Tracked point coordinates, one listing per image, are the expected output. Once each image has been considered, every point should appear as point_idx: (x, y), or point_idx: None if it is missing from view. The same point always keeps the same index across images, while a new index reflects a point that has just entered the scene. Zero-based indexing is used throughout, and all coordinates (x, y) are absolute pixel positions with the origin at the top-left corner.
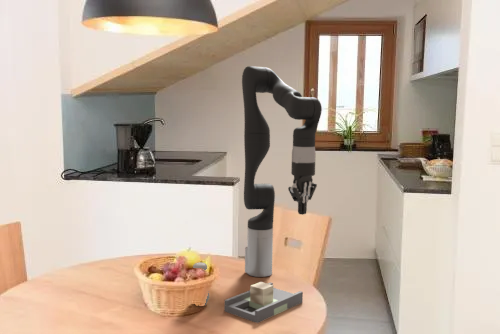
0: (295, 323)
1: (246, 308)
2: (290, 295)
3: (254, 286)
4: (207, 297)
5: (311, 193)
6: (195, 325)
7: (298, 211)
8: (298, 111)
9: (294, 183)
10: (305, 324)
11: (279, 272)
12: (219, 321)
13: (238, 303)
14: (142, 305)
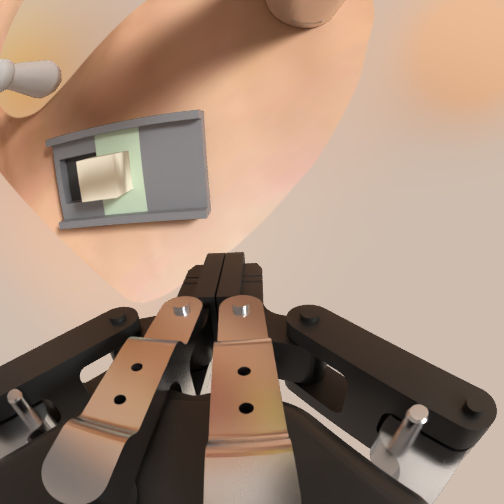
0: (121, 268)
1: (90, 157)
2: (163, 214)
3: (79, 172)
4: (43, 95)
5: (330, 414)
6: (6, 161)
7: (191, 273)
8: None
9: (5, 474)
10: (133, 282)
11: (350, 32)
12: (33, 171)
13: (72, 150)
14: (3, 41)
